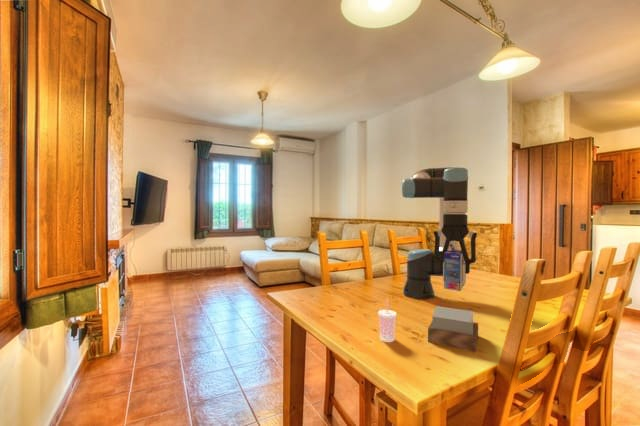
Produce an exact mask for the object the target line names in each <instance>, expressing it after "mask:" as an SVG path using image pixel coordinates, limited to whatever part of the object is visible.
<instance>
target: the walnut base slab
mask: <svg viewBox="0 0 640 426" xmlns="http://www.w3.org/2000/svg"><path fill="white" fill-rule="evenodd" d="M478 338H479V322H474V321H473V336H472V335H467V334H461V333H456V332H450V331H444V330H439V329H433V328H432V322H431V323H430V324H429V326H428V328H427V342H428V343H433V344H437V345H440V346H441V345H442V346H445V347H446V346H447V347H449V348H456V349H458V350H463V351H468V352H472V353H476V350H477V344H478Z"/></svg>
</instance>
